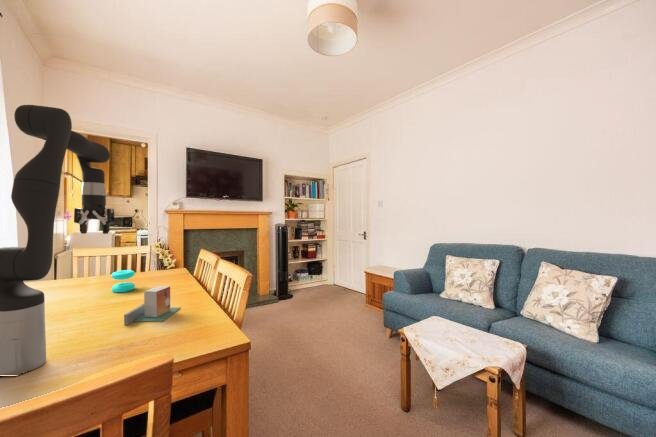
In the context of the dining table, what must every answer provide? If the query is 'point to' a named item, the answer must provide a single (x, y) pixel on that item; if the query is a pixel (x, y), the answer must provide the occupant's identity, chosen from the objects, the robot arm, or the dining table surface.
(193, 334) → the dining table surface
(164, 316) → the mat
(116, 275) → the donuts
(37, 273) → the robot arm
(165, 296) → the small box
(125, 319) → the divider wall
